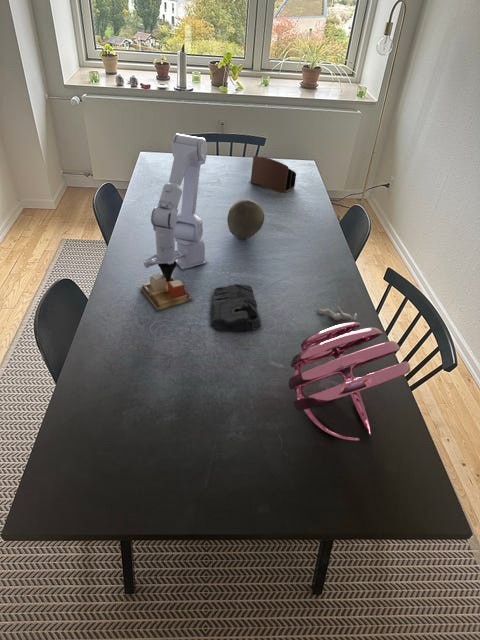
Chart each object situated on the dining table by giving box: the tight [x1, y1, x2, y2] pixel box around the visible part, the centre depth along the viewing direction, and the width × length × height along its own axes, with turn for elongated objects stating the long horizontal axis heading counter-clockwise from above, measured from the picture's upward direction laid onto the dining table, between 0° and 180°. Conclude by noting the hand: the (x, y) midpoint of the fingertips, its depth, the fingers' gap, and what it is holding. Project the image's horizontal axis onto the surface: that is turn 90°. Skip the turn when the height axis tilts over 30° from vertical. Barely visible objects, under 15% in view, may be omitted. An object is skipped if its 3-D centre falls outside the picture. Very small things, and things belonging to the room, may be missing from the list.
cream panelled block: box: [149, 272, 166, 292], centre depth 148 cm, size 4×4×5 cm
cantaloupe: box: [226, 198, 265, 239], centre depth 178 cm, size 14×14×15 cm
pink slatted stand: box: [288, 321, 411, 442], centre depth 106 cm, size 28×28×27 cm
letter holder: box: [250, 155, 297, 195], centre depth 219 cm, size 10×20×14 cm, turn 55°
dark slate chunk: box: [210, 283, 262, 332], centre depth 144 cm, size 15×22×5 cm
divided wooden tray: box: [140, 275, 192, 312], centre depth 148 cm, size 12×13×2 cm
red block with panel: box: [168, 279, 185, 299], centre depth 146 cm, size 4×4×5 cm
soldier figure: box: [317, 305, 358, 322], centre depth 144 cm, size 8×5×12 cm
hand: (167, 280), depth 150 cm, fingers closed
